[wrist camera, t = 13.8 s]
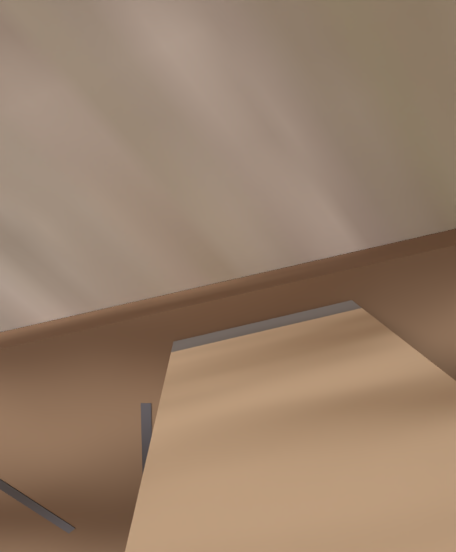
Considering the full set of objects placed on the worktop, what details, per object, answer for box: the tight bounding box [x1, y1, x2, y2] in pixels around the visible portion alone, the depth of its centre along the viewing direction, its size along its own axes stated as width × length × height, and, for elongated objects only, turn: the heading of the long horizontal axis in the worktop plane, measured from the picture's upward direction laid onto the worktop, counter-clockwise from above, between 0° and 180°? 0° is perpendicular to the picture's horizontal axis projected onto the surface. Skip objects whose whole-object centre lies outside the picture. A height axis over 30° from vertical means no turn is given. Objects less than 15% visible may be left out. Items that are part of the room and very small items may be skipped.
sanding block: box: [125, 300, 456, 552], centre depth 7 cm, size 8×5×6 cm, turn 13°
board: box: [0, 229, 456, 552], centre depth 11 cm, size 12×22×2 cm, turn 102°
